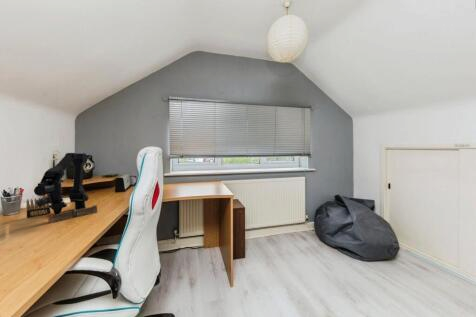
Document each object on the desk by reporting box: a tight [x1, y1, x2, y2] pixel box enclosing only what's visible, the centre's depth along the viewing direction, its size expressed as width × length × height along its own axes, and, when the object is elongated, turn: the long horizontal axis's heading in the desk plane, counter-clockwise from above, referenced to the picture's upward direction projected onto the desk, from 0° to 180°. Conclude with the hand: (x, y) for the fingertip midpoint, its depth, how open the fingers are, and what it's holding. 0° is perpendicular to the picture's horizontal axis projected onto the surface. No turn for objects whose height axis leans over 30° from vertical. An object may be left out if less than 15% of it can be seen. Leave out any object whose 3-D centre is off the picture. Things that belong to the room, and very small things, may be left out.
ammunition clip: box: [25, 197, 52, 219], centre depth 124 cm, size 11×2×12 cm, turn 127°
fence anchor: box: [71, 204, 98, 219], centre depth 125 cm, size 2×12×5 cm, turn 139°
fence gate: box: [47, 210, 73, 224], centre depth 116 cm, size 2×10×4 cm, turn 140°
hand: (57, 216), depth 116 cm, fingers closed
